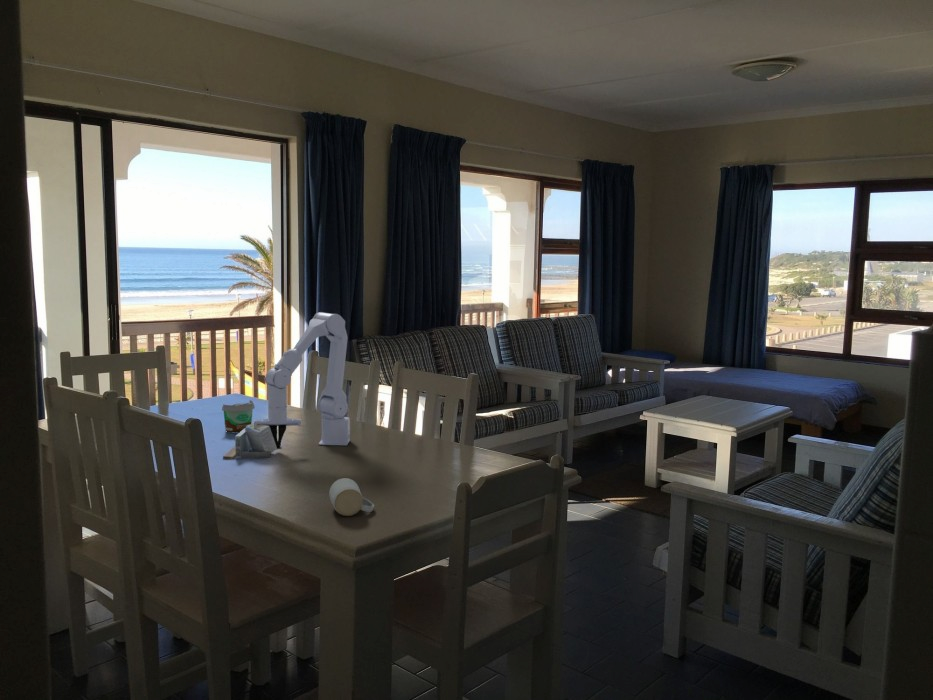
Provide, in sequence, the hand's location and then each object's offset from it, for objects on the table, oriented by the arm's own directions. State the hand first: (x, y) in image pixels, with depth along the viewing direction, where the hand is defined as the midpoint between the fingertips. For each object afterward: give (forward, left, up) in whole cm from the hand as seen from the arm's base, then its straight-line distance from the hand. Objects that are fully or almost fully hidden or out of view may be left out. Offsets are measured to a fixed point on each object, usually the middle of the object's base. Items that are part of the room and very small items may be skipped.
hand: (277, 448), depth 240 cm
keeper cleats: (+6, 0, -1) cm, 6 cm away
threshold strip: (+13, 0, -1) cm, 13 cm away
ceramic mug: (-30, +55, -2) cm, 62 cm away
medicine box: (+4, +1, -1) cm, 4 cm away
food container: (+19, -28, -2) cm, 34 cm away
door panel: (+10, 0, -1) cm, 10 cm away
